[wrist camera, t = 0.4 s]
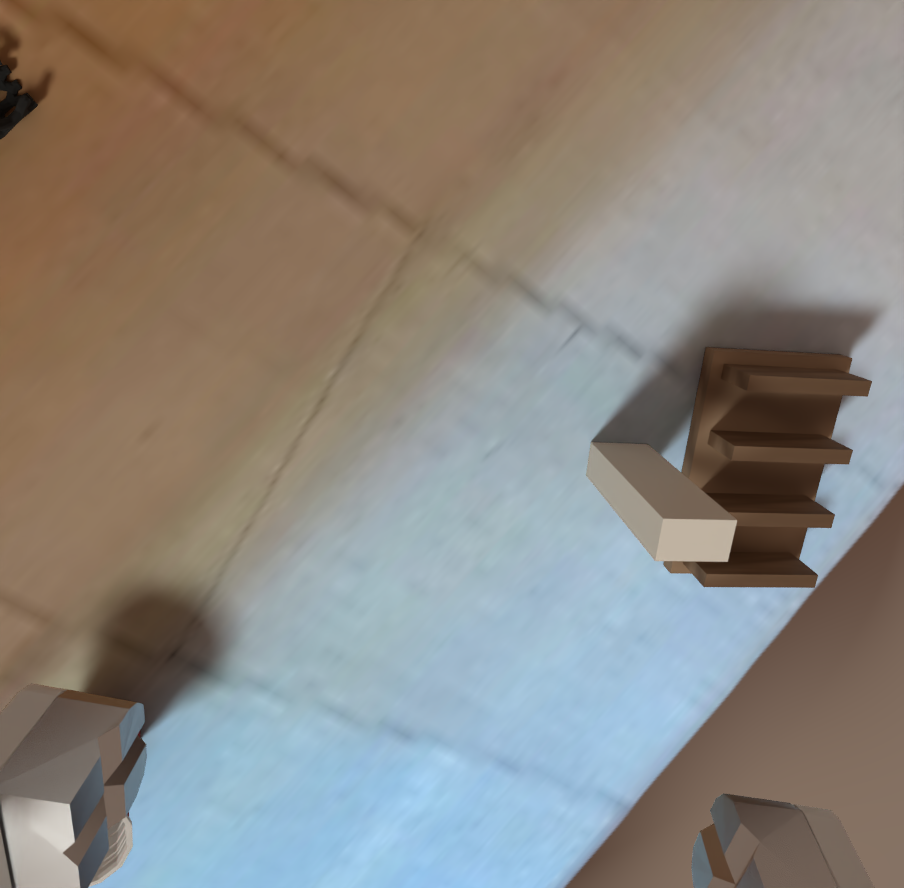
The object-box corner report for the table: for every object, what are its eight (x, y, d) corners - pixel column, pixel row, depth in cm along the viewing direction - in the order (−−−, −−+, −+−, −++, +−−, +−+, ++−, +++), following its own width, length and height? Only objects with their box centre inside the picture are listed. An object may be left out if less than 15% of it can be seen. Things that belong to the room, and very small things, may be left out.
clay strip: (590, 442, 57) (663, 518, 43) (647, 444, 58) (737, 520, 44) (585, 475, 58) (655, 560, 44) (641, 477, 59) (727, 561, 44)
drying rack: (705, 347, 55) (740, 361, 50) (840, 354, 57) (887, 369, 52) (663, 564, 62) (690, 597, 57) (785, 566, 63) (822, 597, 58)
